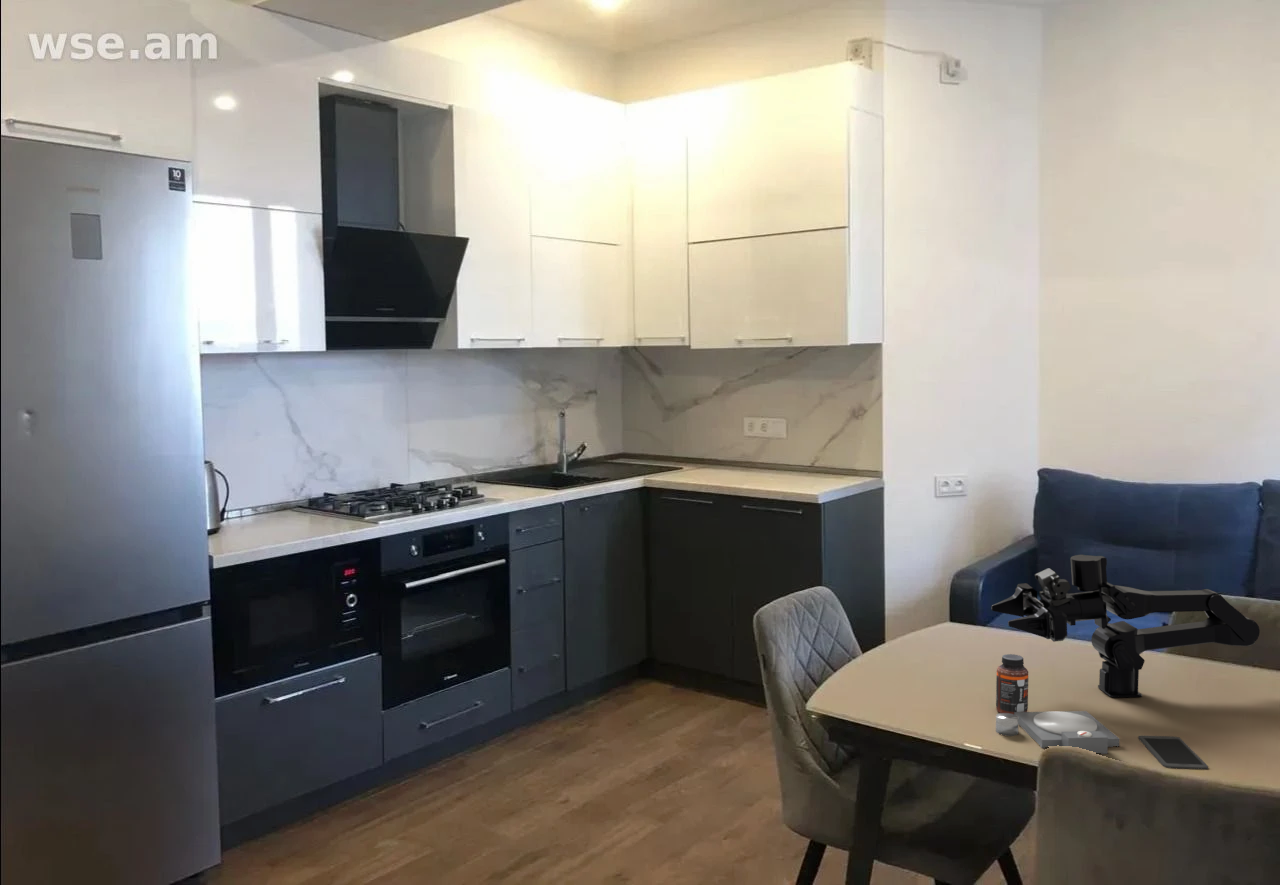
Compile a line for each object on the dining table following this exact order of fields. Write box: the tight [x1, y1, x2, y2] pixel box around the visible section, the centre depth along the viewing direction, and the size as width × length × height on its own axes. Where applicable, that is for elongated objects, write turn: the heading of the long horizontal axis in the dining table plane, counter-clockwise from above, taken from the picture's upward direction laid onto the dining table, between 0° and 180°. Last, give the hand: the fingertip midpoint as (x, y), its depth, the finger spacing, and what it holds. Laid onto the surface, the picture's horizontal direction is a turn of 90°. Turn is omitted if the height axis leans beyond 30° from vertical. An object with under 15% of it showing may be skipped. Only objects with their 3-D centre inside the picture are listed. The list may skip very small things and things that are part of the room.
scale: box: [1014, 710, 1120, 755], centre depth 191 cm, size 14×17×3 cm
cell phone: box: [1137, 734, 1209, 770], centre depth 183 cm, size 7×14×1 cm, turn 172°
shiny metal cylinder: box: [995, 712, 1019, 737], centre depth 194 cm, size 4×4×3 cm
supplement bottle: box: [995, 653, 1029, 714], centre depth 203 cm, size 6×6×11 cm
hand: (999, 615), depth 212 cm, fingers open, 9 cm apart
